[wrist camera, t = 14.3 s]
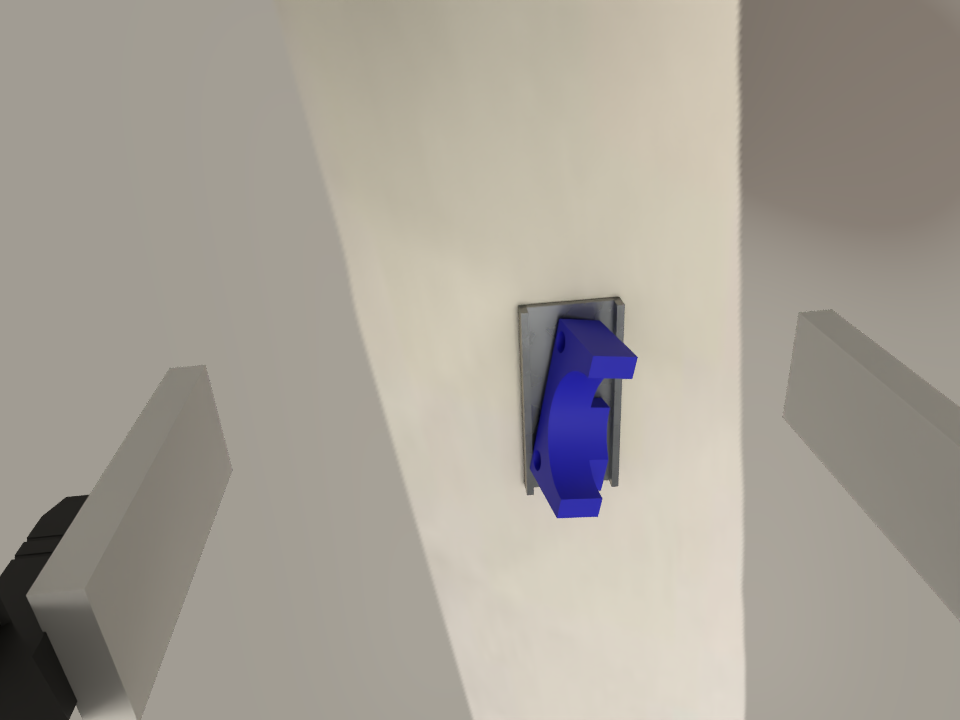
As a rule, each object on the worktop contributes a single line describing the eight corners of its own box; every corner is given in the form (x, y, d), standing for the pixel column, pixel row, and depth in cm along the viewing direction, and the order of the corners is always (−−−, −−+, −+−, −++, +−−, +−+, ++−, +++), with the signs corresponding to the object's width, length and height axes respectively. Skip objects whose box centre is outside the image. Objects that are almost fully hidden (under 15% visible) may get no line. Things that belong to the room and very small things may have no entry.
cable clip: (585, 467, 56) (617, 515, 51) (529, 468, 55) (557, 518, 49) (619, 321, 51) (659, 357, 46) (559, 318, 50) (593, 355, 44)
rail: (518, 305, 50) (520, 313, 49) (619, 296, 50) (624, 304, 49) (524, 484, 57) (527, 495, 56) (613, 475, 57) (618, 486, 56)
